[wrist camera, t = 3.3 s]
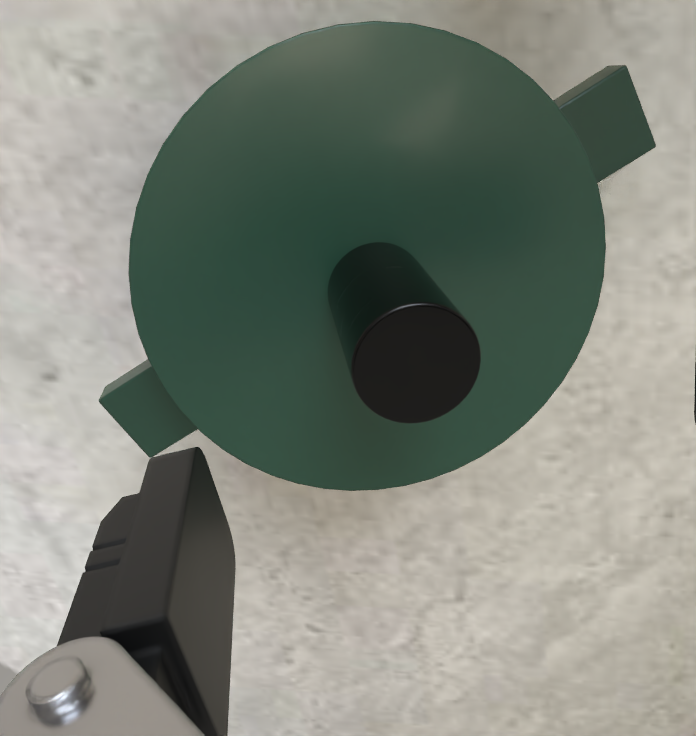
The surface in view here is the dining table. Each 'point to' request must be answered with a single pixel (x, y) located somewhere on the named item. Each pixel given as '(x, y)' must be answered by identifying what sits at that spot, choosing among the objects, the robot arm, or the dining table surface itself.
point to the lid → (367, 256)
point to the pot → (606, 155)
